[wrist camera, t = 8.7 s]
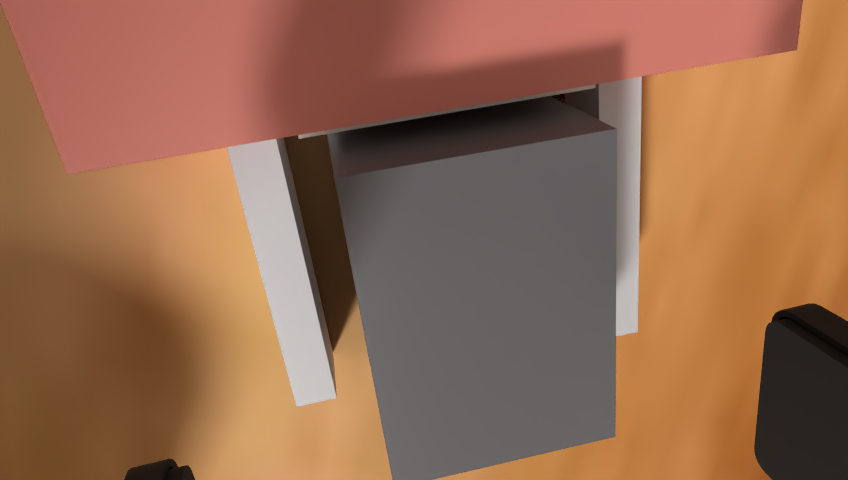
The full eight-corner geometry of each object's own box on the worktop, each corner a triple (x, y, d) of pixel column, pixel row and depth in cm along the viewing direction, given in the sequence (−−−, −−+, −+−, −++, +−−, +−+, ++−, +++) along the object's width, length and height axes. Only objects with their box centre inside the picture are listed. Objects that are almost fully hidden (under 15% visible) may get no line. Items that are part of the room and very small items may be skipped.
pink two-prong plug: (683, 279, 18) (862, 422, 12) (205, 380, 17) (152, 598, 11) (724, -531, 11) (1177, -1073, 5) (-88, -486, 10) (-674, -1178, 4)
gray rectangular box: (537, 321, 18) (615, 436, 14) (370, 357, 18) (394, 488, 13) (524, 83, 15) (617, 128, 11) (324, 116, 15) (333, 178, 10)
